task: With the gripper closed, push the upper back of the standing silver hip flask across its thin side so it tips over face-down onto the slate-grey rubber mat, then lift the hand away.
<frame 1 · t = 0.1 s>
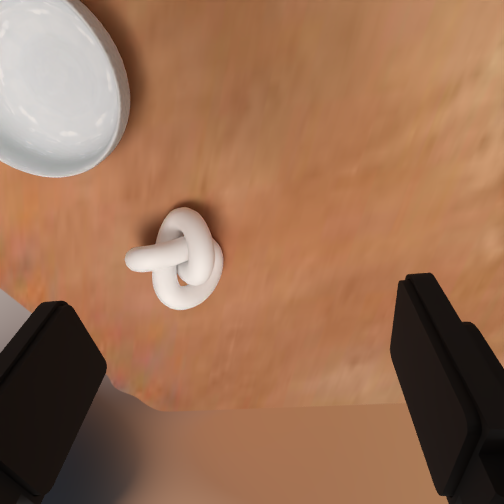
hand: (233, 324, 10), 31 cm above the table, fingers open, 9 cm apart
white decorative knot: (182, 238, 46), on the table
cereal bowl: (64, 75, 35), on the table
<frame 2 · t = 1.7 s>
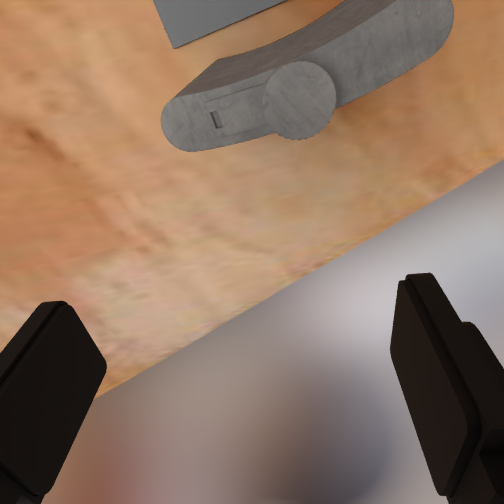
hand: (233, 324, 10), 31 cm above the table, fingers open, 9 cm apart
hip flask: (286, 53, 33), on the table
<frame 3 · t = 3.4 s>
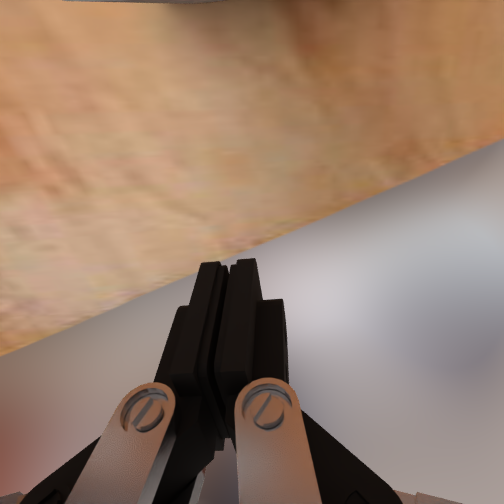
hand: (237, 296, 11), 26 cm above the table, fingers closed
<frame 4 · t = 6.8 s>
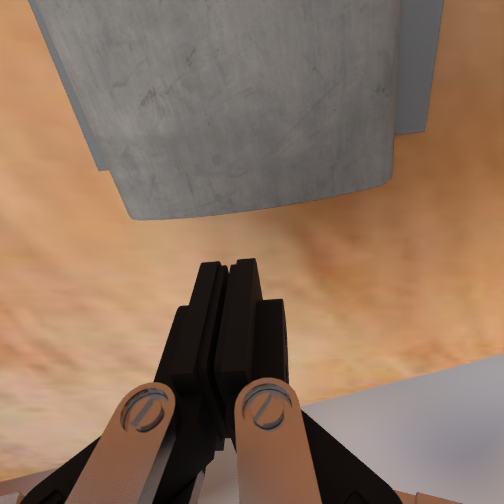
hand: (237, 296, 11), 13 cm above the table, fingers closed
hip flask: (253, 199, 20), point 3 cm above the table, touching mat
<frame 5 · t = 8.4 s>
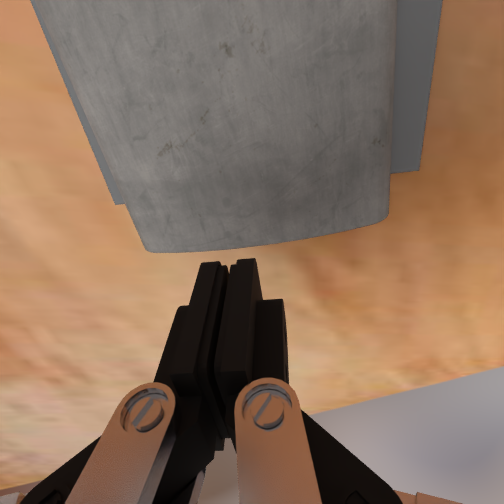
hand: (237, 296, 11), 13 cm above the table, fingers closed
hip flask: (260, 232, 22), point 3 cm above the table, touching mat
mat: (237, 36, 18), on the table
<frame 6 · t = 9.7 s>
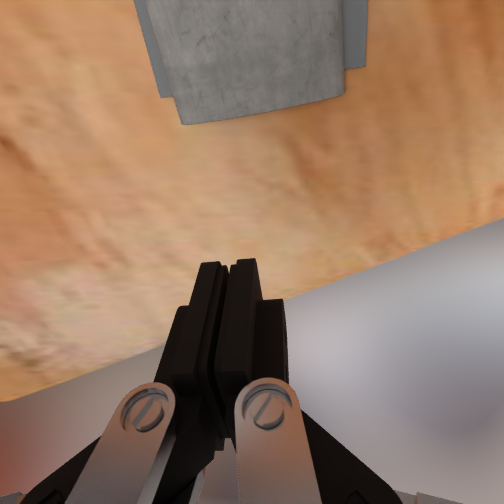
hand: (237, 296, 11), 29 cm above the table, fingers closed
hip flask: (260, 111, 33), point 3 cm above the table, touching mat
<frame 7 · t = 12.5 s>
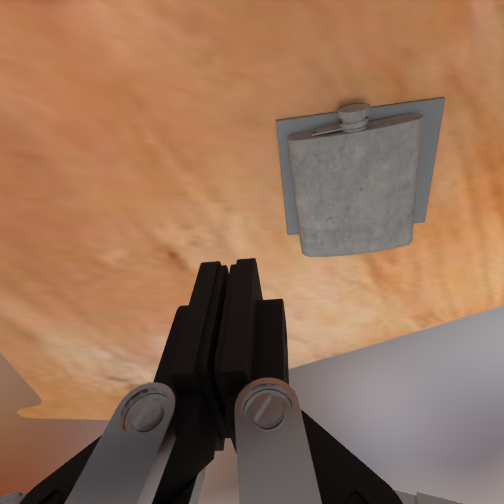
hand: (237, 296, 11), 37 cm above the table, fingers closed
hip flask: (356, 248, 51), point 3 cm above the table, touching mat
mat: (355, 173, 47), on the table
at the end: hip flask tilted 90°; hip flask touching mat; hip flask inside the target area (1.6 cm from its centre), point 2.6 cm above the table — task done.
